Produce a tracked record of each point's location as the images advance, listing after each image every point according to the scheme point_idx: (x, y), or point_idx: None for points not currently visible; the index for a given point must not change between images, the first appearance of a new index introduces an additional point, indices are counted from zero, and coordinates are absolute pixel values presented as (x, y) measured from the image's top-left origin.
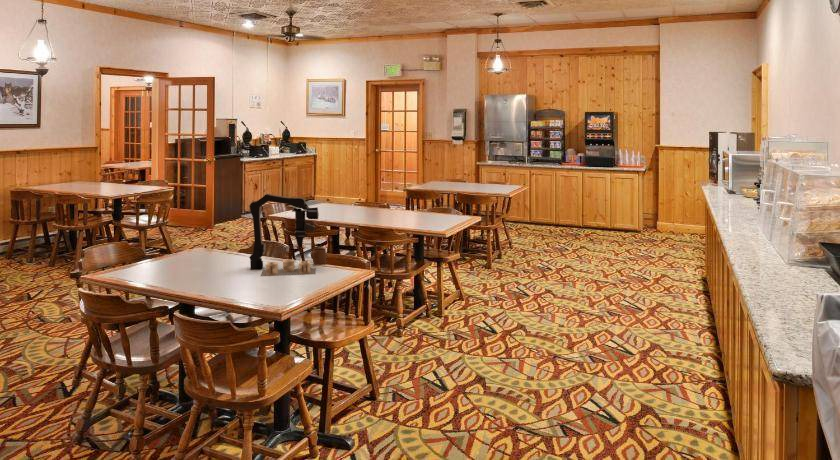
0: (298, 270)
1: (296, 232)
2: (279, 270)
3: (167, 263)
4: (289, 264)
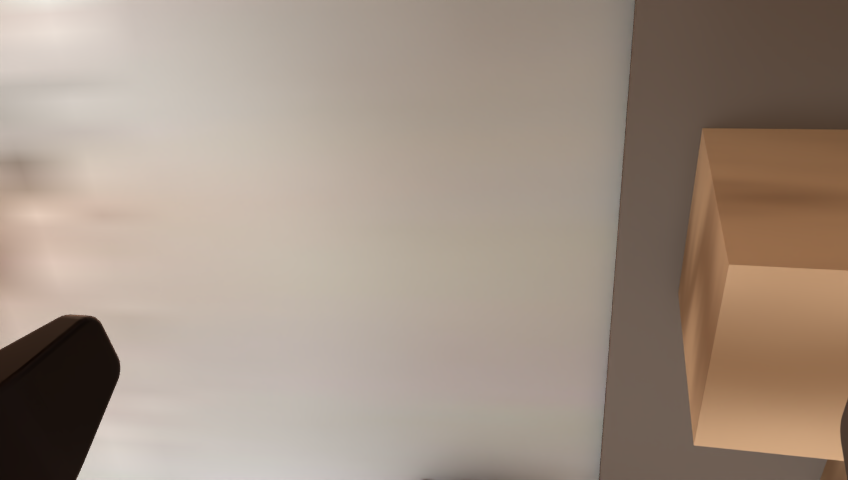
0: (834, 47)
1: None
2: None
3: None
4: None
